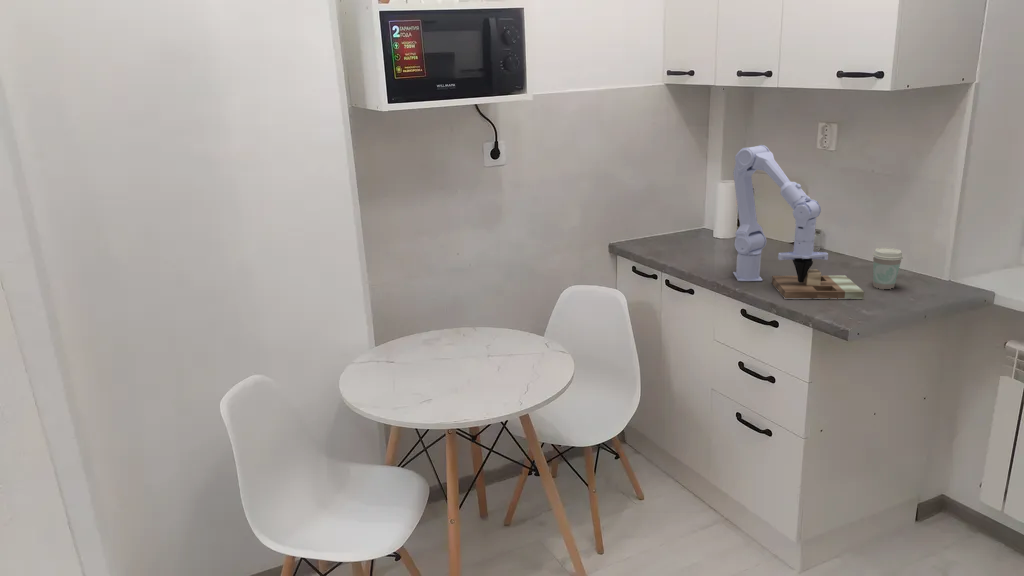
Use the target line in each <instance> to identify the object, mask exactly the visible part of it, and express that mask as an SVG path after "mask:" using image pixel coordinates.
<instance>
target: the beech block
mask: <svg viewBox="0 0 1024 576" xmlns="http://www.w3.org/2000/svg"><path fill="white" fill-rule="evenodd" d="M821 276H822V272H821V271H820V270H819V269H809V270H808V272H807V274H806V276H805V279H804V283H805V284H806V285H820V282H821Z"/></svg>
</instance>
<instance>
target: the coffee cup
mask: <svg viewBox="0 0 1024 576" xmlns="http://www.w3.org/2000/svg"><path fill="white" fill-rule="evenodd" d="M872 257H873V261H872V262H873V265H872V266H873V267H872V268H873V269H872V270H873V271H872V272H873V273H872V274H873V277H872V279H873V282H872V283H873V288H875V287H876V288H875V289H878V288H879V289H878V290H884V289H890V290H892V289H891V288H893V289H894V288H895V284H896V282H897V281H896V280H897V277H898V273H899V271H900V266H901V263H902V259H904V258H903V257H904V255H903V252H902V250H901V249H897V248H893V247H879V248H878V247H877V248H875V250H874V252H872Z"/></svg>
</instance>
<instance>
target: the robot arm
mask: <svg viewBox="0 0 1024 576" xmlns="http://www.w3.org/2000/svg"><path fill="white" fill-rule="evenodd" d="M734 158H735V159H734V160H735V164H734V168H733V180H734V181H733V182H734V189H735V196H736V205H737V212H738V213H737V214H738V220H739V227H738V228H737V229H736V231H735V239H734V248H735V250H736V251H737V256H736V268H735V269H736V271H733V272H732V274H733V276H734V277H735V279H736V280H737V281H738V282H763V281H764V280H763V278H762V277H761V275H760V272H761V259H762V252H763V249H764V248H765V247H766V245H767V237H766V235H765V234H764V230H763V227H762V226H761V225H760V224H759V222H758V220H757V219H758V218H757V211H756V203H755V194H754V188H753V187H754V186H753V185H754V184H753V178H752V177H753V175H754V174H755V172H756V171H757V170H759V171H763V172H765V173H766V175H768V176H769V178H770V179H772V181H773V182H774V183H775V184H776V185H777V186H778V187H779V188H780V195H781V197H782V198H783V200H784V201H785V202H787V204H788V206H790V208H791V209H792V215H793V218H794V221H795V230H794V240H793V251H787V252H785V251H784V252H777V253H778V255H777V259H778V260H779V261H783V260H786V261H787V260H790V261H791V260H792V263H793V265H794V269H795V271H796V276H797V277H798V281H799V282H804V279H805V276H806V274H807V272H808V270H810V268H811V267H812V265H813V264H814V261H813V260H825V261H828V259H829V253H828V252H824V251H823V252H822V251H814V246H815V237H816V236H815V235H816V226H817V218H818V217H819V216H820V214H821V212H822V208H821V205H820V203H819V202H818V201H817V200H815V199H811V197H810V196H809V195H807V193H805V191H804V190H803V189H802V185H801V184H800V183H797V182H796V181H791V180H790V179H789V177H787V175H786V173H785V171H783V169H782V168H781V167H780V165H779V163H778V162H777V161H776V160H775V157H774V153H773V152H772V151H770V149H769V147H767V146H766V145H764V144H759V145H756V146H749V147H742V148H741V149H740V150H739V151H737V153H736V155H735V156H734Z"/></svg>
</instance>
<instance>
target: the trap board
mask: <svg viewBox="0 0 1024 576" xmlns="http://www.w3.org/2000/svg"><path fill="white" fill-rule="evenodd" d="M771 284H772V285H773V287H774V286H775V287H776V288H777V289H778V290H779V292H780V293H781V294H782V295H783V296H784V297H785V298H837V299H838V298H845V299H847V298H851V299H863V300H864V297H865V291H864V290H863V289H862V288H861V287H860V286H858V285H857V284H856V283H855V282H853V281H852V280H851V279H850V278H849V277H847V275H821V282H820V285H806V284H805V283H804V282H799V281H798V277H797V275H772V277H771ZM775 287H774V288H775ZM776 288H775V289H776ZM777 289H776V290H777ZM778 290H777V291H778ZM779 292H778V293H779ZM780 293H779V294H780ZM781 294H780V295H781ZM782 295H781V296H782Z"/></svg>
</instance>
